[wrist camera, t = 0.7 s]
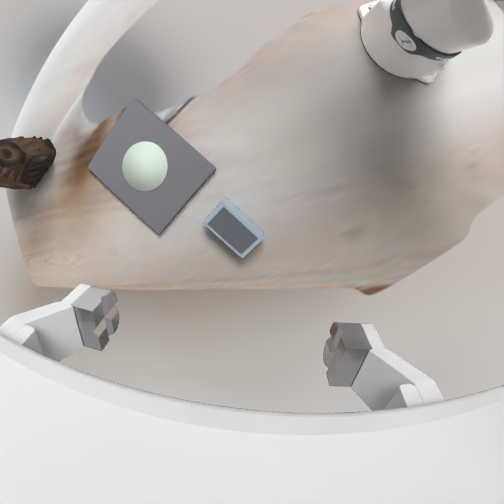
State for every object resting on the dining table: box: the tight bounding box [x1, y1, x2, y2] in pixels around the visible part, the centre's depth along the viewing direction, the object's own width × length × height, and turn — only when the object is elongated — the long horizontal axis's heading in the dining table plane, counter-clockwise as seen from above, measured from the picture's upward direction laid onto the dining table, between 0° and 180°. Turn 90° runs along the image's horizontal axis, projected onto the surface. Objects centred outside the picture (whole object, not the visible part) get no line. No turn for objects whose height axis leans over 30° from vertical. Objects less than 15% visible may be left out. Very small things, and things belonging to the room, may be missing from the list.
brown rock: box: [0, 136, 56, 190], centre depth 35 cm, size 13×13×20 cm
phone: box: [203, 197, 264, 259], centre depth 47 cm, size 5×9×4 cm, turn 46°
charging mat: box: [88, 99, 216, 235], centre depth 45 cm, size 16×20×1 cm
